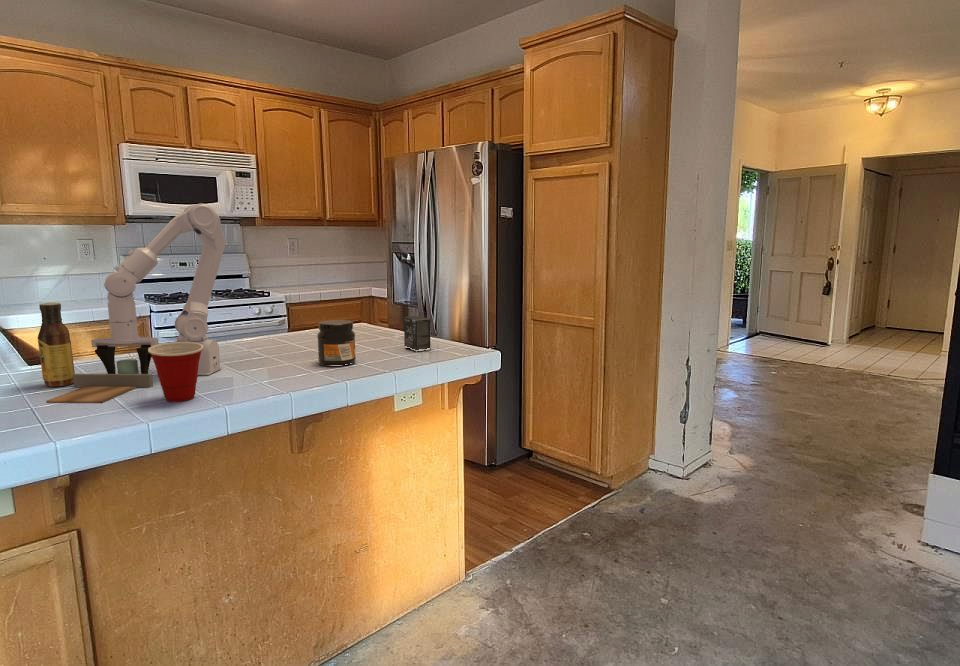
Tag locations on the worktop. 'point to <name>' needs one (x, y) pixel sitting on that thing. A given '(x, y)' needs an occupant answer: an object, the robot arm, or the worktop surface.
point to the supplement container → (336, 342)
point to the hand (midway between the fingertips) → (128, 374)
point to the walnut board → (90, 395)
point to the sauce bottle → (55, 347)
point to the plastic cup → (177, 368)
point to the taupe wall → (113, 380)
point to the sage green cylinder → (127, 366)
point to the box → (417, 332)
